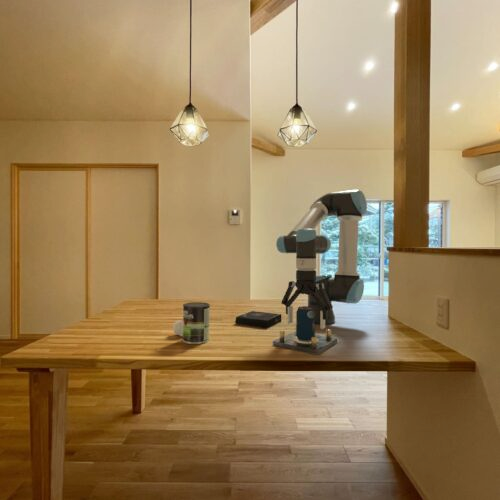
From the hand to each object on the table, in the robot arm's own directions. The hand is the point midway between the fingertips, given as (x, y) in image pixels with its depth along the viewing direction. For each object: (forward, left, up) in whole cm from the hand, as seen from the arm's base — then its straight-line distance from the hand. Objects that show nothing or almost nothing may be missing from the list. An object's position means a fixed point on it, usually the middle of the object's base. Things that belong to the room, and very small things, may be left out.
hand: (305, 325), depth 121 cm
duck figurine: (+18, -45, -7) cm, 49 cm away
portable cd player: (-18, -34, -8) cm, 39 cm away
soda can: (0, 0, -5) cm, 5 cm away
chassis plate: (0, 0, -7) cm, 7 cm away
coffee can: (+22, -36, -7) cm, 43 cm away
